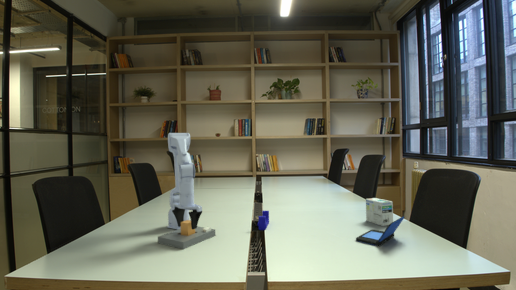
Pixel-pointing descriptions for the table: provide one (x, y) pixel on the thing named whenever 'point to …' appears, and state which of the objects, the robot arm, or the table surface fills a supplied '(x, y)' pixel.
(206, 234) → the socket plate
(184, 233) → the plug
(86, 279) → the table surface
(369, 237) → the handheld game console
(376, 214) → the light bulb box
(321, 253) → the table surface
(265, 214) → the cable clip
